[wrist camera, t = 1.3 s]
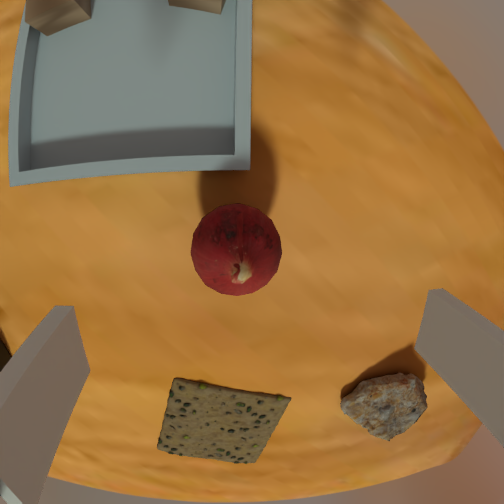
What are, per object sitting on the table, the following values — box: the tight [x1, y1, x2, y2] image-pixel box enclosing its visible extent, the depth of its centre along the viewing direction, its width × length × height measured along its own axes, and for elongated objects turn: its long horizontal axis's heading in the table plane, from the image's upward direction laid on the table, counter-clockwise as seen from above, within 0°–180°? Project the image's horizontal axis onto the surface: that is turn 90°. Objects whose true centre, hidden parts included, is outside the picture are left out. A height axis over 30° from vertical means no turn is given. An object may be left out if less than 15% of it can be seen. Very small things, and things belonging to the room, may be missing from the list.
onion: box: [191, 203, 282, 296], centre depth 21 cm, size 6×6×8 cm
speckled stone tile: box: [157, 378, 291, 464], centre depth 30 cm, size 12×12×1 cm
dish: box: [8, 0, 252, 187], centre depth 18 cm, size 18×18×2 cm
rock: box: [340, 372, 427, 441], centre depth 30 cm, size 9×6×10 cm
